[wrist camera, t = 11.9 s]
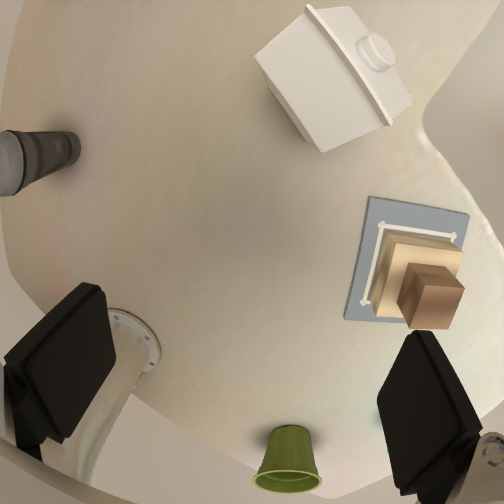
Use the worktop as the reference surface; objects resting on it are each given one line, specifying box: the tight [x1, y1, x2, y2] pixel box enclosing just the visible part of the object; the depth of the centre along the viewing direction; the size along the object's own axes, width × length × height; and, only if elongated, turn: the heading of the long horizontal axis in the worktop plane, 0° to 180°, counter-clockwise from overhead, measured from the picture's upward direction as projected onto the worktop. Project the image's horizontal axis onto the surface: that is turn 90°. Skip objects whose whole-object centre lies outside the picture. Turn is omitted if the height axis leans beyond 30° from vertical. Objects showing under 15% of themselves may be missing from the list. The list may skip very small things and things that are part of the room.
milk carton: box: [254, 4, 414, 153], centre depth 20 cm, size 7×7×19 cm
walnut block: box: [396, 262, 465, 329], centre depth 28 cm, size 5×5×5 cm
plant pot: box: [252, 426, 322, 494], centre depth 45 cm, size 12×12×11 cm
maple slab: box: [369, 231, 463, 318], centre depth 32 cm, size 9×9×4 cm
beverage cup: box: [0, 130, 81, 197], centre depth 24 cm, size 7×7×20 cm
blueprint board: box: [344, 196, 470, 323], centre depth 34 cm, size 16×14×1 cm
